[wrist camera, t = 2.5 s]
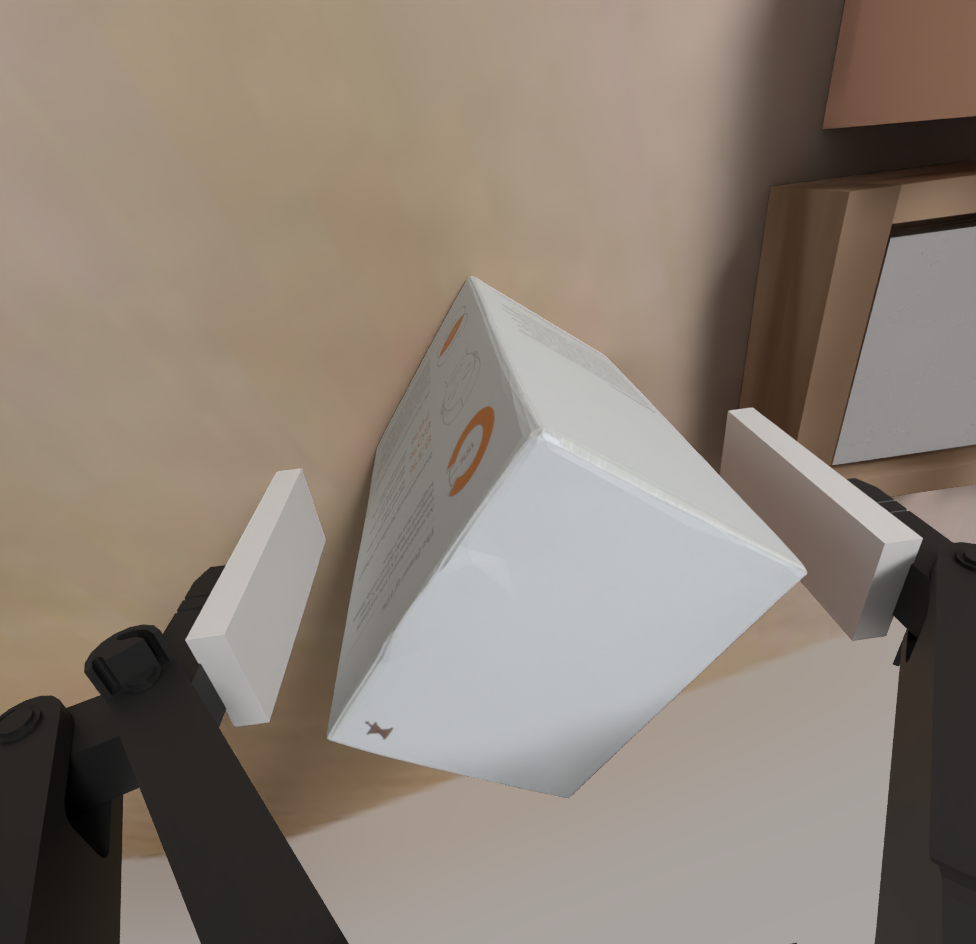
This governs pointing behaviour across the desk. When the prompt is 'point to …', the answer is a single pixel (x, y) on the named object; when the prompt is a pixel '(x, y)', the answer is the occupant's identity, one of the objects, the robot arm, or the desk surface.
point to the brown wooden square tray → (841, 308)
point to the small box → (537, 560)
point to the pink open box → (903, 62)
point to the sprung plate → (916, 349)
